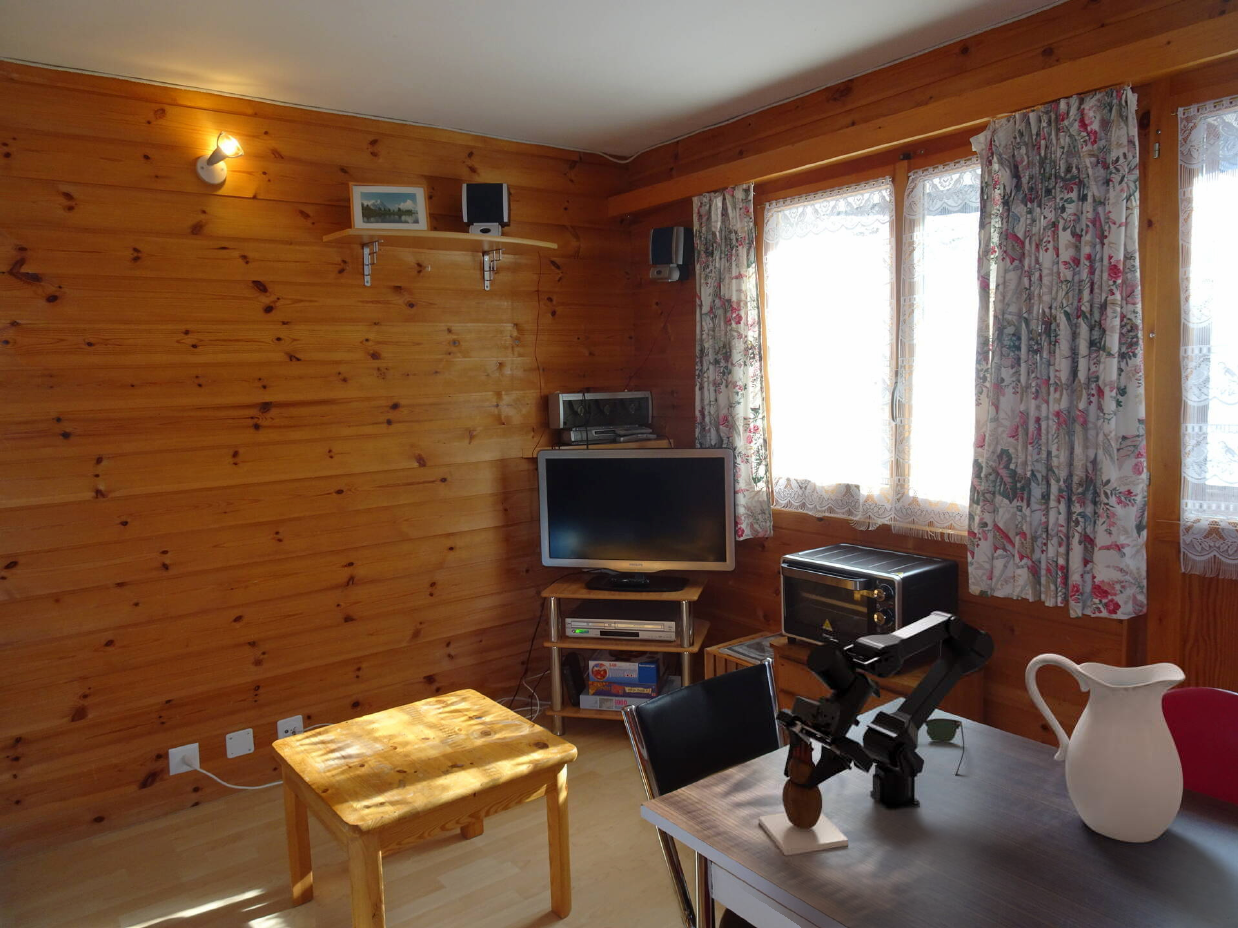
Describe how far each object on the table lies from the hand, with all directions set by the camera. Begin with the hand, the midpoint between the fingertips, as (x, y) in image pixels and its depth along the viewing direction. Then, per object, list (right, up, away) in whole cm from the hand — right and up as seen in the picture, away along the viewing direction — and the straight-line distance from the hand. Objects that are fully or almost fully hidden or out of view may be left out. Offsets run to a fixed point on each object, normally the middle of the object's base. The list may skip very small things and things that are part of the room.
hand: (796, 782), depth 145 cm
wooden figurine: (+1, -8, +2) cm, 8 cm away
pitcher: (+52, -8, +4) cm, 53 cm away
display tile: (+1, -9, +1) cm, 9 cm away
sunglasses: (+32, -6, +31) cm, 45 cm away
